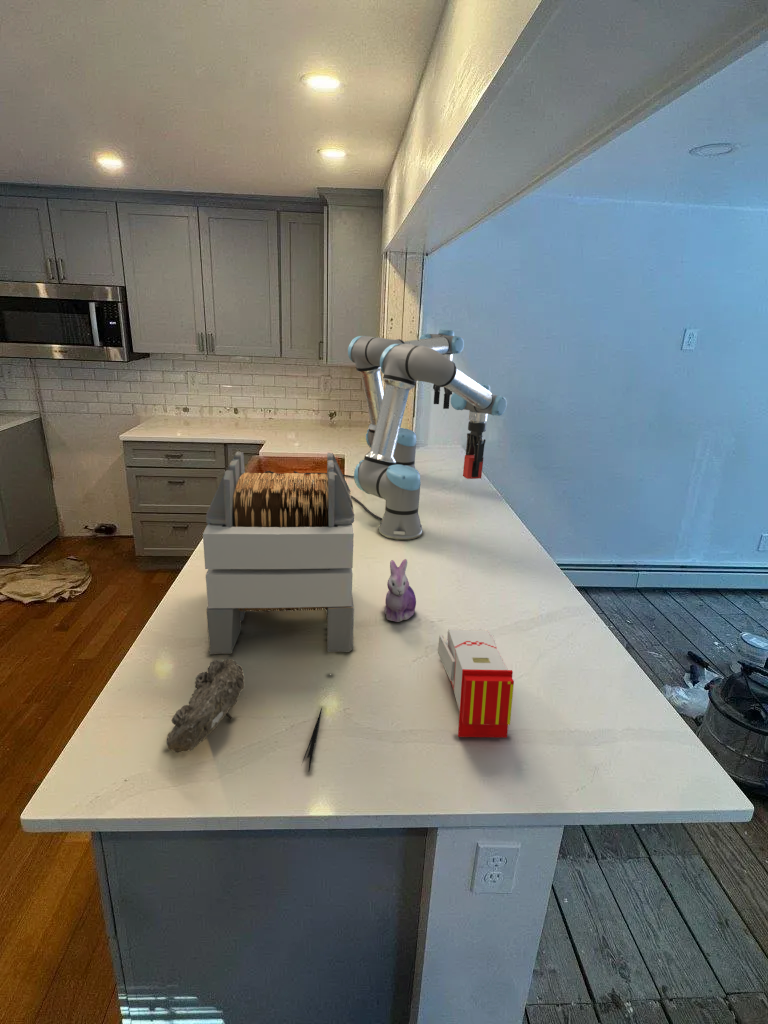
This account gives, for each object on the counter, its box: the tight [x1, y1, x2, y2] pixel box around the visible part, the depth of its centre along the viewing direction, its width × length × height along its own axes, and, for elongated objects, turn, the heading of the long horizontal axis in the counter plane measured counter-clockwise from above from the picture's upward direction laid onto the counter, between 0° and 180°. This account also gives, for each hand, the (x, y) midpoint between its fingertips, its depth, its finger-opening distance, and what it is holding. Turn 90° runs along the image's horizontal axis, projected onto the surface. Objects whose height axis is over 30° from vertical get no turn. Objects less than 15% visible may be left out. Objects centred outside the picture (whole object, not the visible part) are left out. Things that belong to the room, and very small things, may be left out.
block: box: [462, 454, 484, 480], centre depth 244 cm, size 5×7×9 cm
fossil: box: [166, 658, 245, 754], centre depth 106 cm, size 22×10×15 cm
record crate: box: [202, 451, 355, 655], centre depth 137 cm, size 34×33×41 cm
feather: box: [301, 673, 332, 771], centre depth 108 cm, size 2×28×2 cm
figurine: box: [384, 558, 417, 623], centre depth 145 cm, size 9×10×15 cm
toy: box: [437, 628, 515, 738], centre depth 117 cm, size 12×13×30 cm
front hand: (472, 475), depth 245 cm, fingers closed on block, 5 cm apart
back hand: (441, 406), depth 285 cm, fingers open, 13 cm apart
